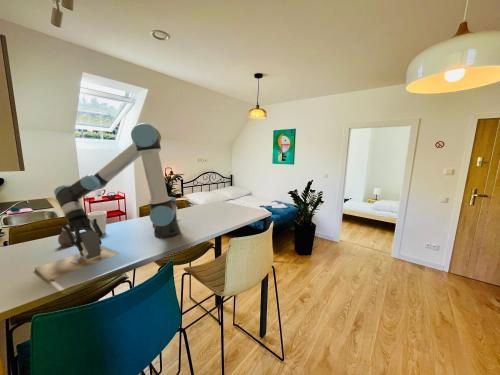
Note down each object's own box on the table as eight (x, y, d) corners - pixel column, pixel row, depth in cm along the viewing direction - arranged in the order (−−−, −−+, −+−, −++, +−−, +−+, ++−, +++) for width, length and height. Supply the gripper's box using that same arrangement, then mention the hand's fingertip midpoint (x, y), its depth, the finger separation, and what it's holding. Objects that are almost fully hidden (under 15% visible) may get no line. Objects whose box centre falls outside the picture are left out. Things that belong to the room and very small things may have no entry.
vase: (55, 246, 111) (53, 230, 110) (70, 241, 118) (68, 226, 116) (64, 248, 109) (62, 232, 108) (78, 243, 115) (77, 228, 114)
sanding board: (103, 248, 110) (103, 245, 110) (120, 255, 102) (119, 253, 102) (34, 270, 88) (34, 267, 88) (49, 282, 80) (48, 279, 80)
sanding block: (100, 256, 98) (98, 233, 97) (88, 261, 94) (85, 236, 93) (92, 252, 103) (90, 230, 101) (80, 256, 98) (77, 233, 97)
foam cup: (86, 234, 128) (84, 213, 127) (101, 229, 137) (99, 210, 135) (96, 236, 125) (94, 215, 123) (111, 231, 134) (110, 211, 132)
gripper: (93, 213, 111) (112, 250, 106) (48, 222, 96) (67, 265, 90) (97, 205, 108) (117, 242, 102) (51, 212, 93) (71, 257, 87)
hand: (94, 253), depth 96 cm, fingers closed on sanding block, 5 cm apart
